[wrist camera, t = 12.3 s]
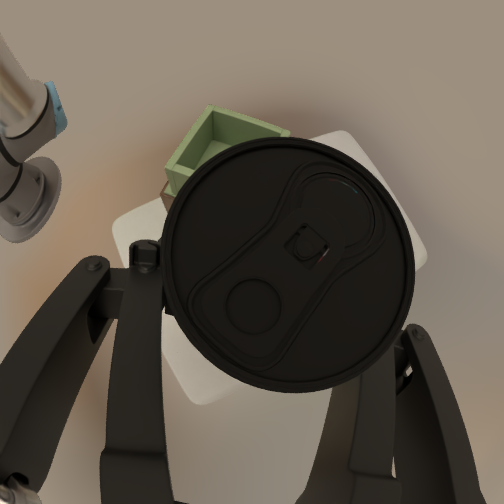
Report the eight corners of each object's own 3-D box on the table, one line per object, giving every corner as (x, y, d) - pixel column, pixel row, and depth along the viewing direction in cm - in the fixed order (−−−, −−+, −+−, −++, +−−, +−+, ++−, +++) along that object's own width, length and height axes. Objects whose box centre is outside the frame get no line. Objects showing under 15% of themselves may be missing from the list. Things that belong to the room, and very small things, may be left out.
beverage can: (298, 314, 20) (447, 274, 6) (236, 362, 19) (278, 447, 4) (252, 252, 21) (311, 107, 7) (188, 297, 20) (111, 216, 5)
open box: (164, 193, 28) (154, 166, 23) (203, 131, 31) (202, 100, 25) (259, 232, 28) (268, 209, 23) (288, 162, 31) (300, 133, 25)
